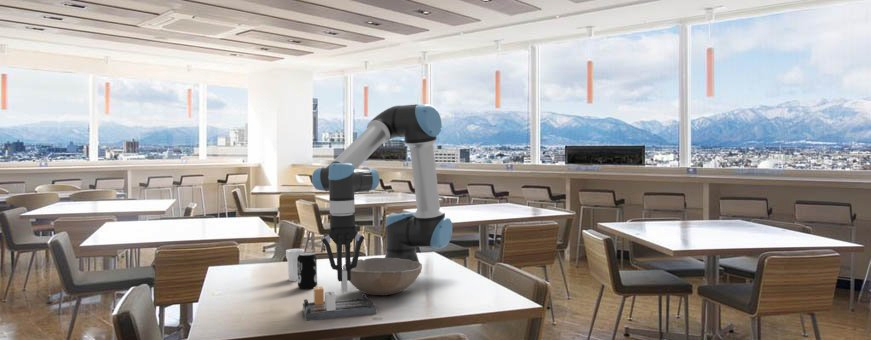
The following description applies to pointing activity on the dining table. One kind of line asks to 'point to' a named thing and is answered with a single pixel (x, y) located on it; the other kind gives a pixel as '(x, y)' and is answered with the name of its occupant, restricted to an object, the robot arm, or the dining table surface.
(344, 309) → the panel
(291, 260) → the cup
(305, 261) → the beverage can
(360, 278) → the bowl
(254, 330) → the dining table surface
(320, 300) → the orange fader
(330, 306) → the white fader
